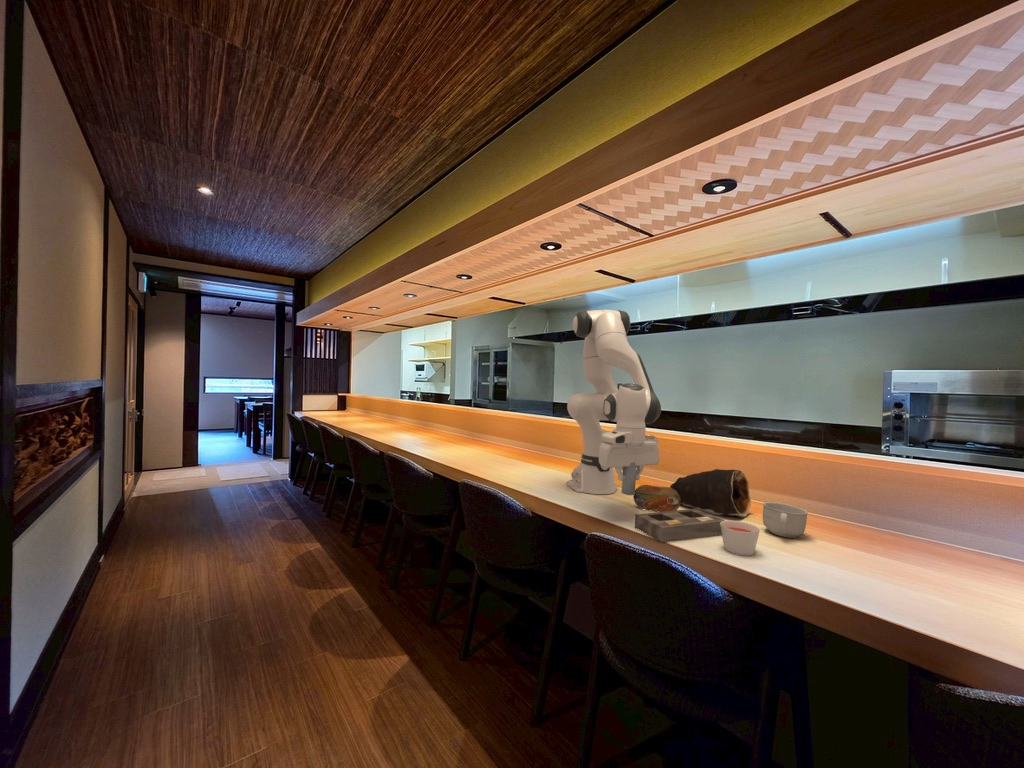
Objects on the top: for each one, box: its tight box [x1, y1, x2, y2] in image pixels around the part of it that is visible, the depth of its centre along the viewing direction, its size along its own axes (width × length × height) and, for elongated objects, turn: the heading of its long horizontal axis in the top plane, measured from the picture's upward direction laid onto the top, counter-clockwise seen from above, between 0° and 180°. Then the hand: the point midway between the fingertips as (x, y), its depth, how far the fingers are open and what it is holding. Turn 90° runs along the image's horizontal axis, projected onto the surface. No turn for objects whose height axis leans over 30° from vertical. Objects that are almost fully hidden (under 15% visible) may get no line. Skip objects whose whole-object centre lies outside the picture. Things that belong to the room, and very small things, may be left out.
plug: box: [621, 463, 637, 496], centre depth 130 cm, size 4×4×10 cm
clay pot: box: [669, 468, 752, 518], centre depth 145 cm, size 15×15×25 cm
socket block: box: [634, 508, 726, 543], centre depth 121 cm, size 12×22×4 cm, turn 109°
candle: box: [720, 519, 761, 556], centre depth 108 cm, size 9×9×6 cm
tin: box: [632, 484, 681, 512], centre depth 141 cm, size 15×3×8 cm, turn 62°
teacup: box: [762, 501, 809, 539], centre depth 120 cm, size 14×11×8 cm
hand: (628, 480), depth 130 cm, fingers closed on plug, 4 cm apart
